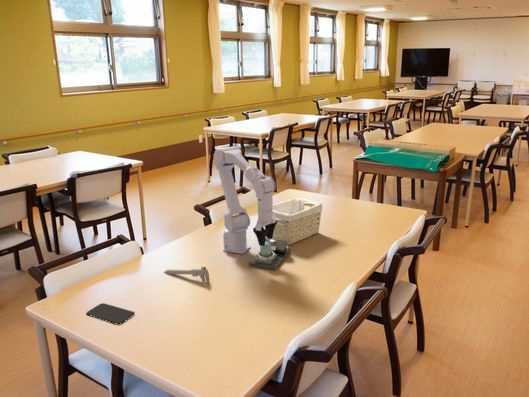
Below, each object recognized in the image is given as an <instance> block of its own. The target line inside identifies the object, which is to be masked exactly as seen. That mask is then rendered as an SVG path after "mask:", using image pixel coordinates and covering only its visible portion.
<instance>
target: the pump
mask: <svg viewBox="0 0 529 397" xmlns="http://www.w3.org/2000/svg"><path fill="white" fill-rule="evenodd" d="M271 250H276V246H271V243H270V242H265V246H260V245H259V251H260V256H263V257H269V256H271Z"/></svg>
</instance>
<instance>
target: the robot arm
mask: <svg viewBox="0 0 529 397" xmlns="http://www.w3.org/2000/svg"><path fill="white" fill-rule="evenodd" d="M213 161H214V165H215V168H216V170H218V174H219V178H220V182H221V187H222V190H223V194H224V199H225V202H226V205H227V210H226V211H225V213H224V214H223V217H224V227H225V230H224V231H223V238H222V239H223V249H222V252H227V253H233V254H235V253H236V254H240V255H243V254H244V253H246V252H247V251H248V250H249V249H251V246H250V245H248V244H247V243H248V242H247V230H248V228H249V227H250V225H251V219H250V215H249V213H248V212H247V209H245V208H244V207H242V206H241V204H240V199H239V195H238V191H237V187H236V183H235V180H234V176H233V173H232V170H233V168H234V167H237V168H239V170H241V171H242V172H244V177H245V179H247V180H248V181H249V183H250V184H252V186H253V190H254V192H255V196H256V199H257V220H256V225H255V226H254V227H252V228H253V230H252V231H253V233H254V234H255V236H256V239H257V243H258V245H259V247H260V246H265V241H266V238H269V239H272V237H273V233H274V229H275V226H276V224H277V220H273V219H275V214H273V205H274V204H273V203H274V202H273V200H274V199H273V192H274V191H275V190H276V188H277V187H276V185H277V184H276V182H275V179H274V178H273V177H272V176H267V175H265V174H264V172H262V171H261V170H260V169H258V167H257V166H255V165H251V164H250V163H249V162H248V161H247V160H246V159H245V157H244V156H243V155H242V150H241V149H240V148H239V146H237V145H233V146H228V147H223V148H222V147H221V148H216V149H215V150H214V153H213Z"/></svg>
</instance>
